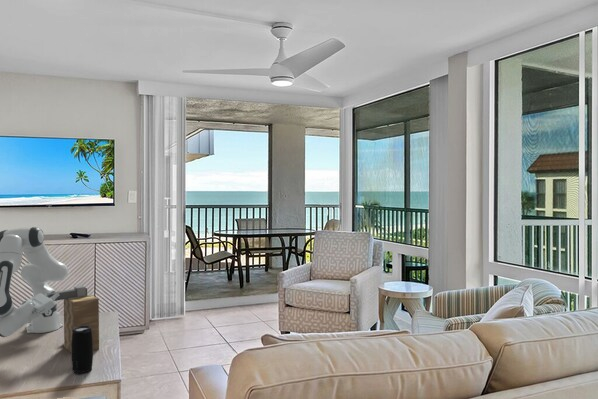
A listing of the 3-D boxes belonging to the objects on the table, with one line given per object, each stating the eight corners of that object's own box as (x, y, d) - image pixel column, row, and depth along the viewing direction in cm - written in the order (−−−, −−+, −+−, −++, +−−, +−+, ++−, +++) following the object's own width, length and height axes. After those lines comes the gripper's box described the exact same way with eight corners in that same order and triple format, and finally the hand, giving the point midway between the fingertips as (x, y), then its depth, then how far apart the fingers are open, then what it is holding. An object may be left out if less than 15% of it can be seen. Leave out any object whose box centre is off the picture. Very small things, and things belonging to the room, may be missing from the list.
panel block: (64, 347, 238) (63, 297, 237) (88, 342, 246) (87, 293, 245) (74, 355, 227) (73, 302, 226) (99, 349, 235) (98, 298, 234)
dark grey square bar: (46, 300, 231) (46, 291, 230) (84, 293, 243) (84, 285, 243) (49, 302, 227) (49, 292, 227) (87, 295, 240) (87, 286, 239)
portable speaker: (83, 366, 213) (83, 323, 213) (97, 369, 209) (97, 326, 208) (66, 372, 205) (66, 328, 205) (80, 376, 201) (80, 331, 201)
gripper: (32, 309, 215) (59, 291, 223) (20, 302, 230) (47, 284, 238) (39, 320, 217) (67, 301, 225) (28, 311, 232) (54, 294, 240)
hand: (56, 292), depth 232 cm, fingers open, 5 cm apart
